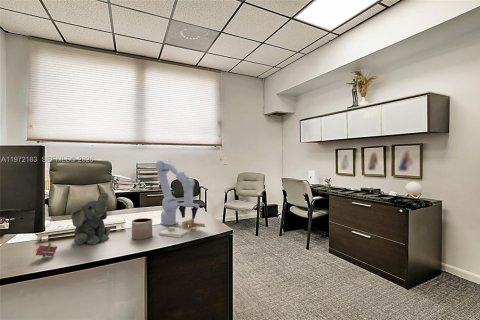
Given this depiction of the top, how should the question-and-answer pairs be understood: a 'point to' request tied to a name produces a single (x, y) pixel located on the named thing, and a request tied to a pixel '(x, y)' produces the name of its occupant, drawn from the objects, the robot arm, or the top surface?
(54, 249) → the geometric puzzle
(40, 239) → the top surface
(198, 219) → the top surface
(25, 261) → the top surface
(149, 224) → the planter
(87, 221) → the stuffed elephant
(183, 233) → the stand
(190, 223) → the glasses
